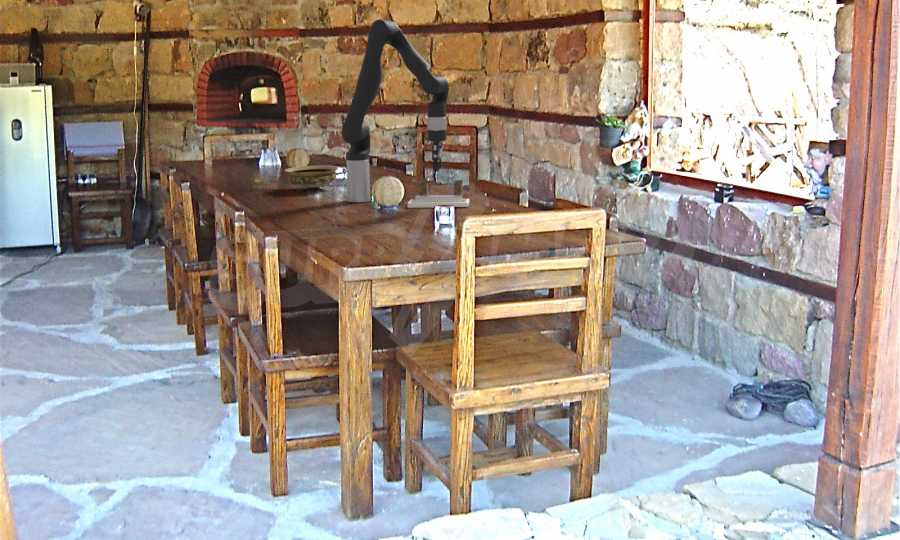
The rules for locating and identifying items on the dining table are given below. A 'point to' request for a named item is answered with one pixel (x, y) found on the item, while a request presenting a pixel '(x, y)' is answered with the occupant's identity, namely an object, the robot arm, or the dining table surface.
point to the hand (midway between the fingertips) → (437, 170)
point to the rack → (457, 187)
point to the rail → (438, 198)
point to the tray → (413, 204)
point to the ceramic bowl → (312, 176)
